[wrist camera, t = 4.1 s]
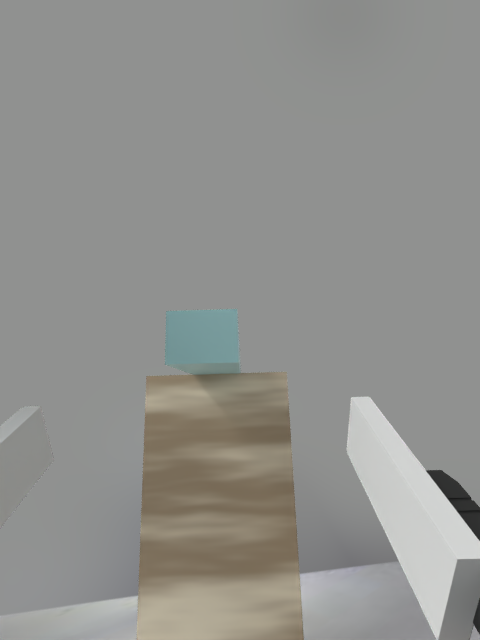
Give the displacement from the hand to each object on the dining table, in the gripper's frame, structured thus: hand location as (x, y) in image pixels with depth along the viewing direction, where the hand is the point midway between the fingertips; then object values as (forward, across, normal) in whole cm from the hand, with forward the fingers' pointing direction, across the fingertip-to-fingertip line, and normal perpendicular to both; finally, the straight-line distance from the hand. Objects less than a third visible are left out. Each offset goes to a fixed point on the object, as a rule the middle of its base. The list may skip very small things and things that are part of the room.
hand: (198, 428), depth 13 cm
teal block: (+15, 0, -5) cm, 16 cm away
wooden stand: (+3, 0, -33) cm, 33 cm away
